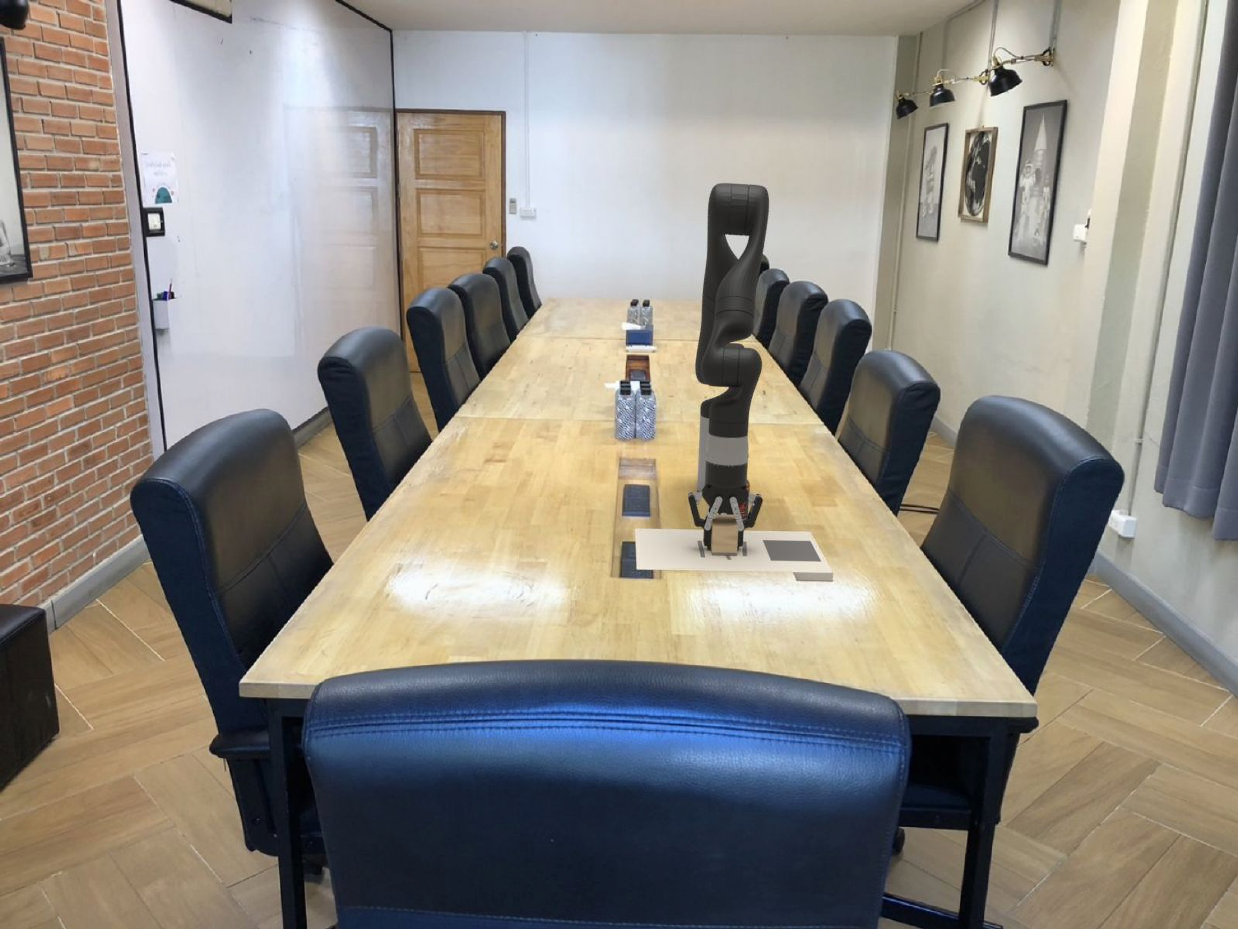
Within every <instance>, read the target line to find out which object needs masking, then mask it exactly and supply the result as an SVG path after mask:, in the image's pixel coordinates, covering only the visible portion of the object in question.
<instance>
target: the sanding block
mask: <svg viewBox="0 0 1238 929" xmlns="http://www.w3.org/2000/svg"><path fill="white" fill-rule="evenodd" d="M711 530H712V536H711V549H710V550H711V554H712V555H714V556H737V543H738V524H737V523H736V521H735V518H734V515H719V514H717V515H716V517H715V520H714V521H713V522H712V526H711Z"/></svg>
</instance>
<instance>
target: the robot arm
mask: <svg viewBox="0 0 1238 929" xmlns="http://www.w3.org/2000/svg"><path fill="white" fill-rule="evenodd" d="M769 196H770V195H769V191H768V189H767V188H766V187H765V186H763V185H759V184H746V183H732V182H722V183H716V184H715V185H714V186H712V189H711V191H710V194H709V198H708V204H707V234H706V236H707V237H706V238H707V239H706V240H707V241H706V242H707V243H706V244H707V245H706V260H705V261H706V262H705V269H704V274H703V276H704V277H703V284H702V294H701V297H702V298H701V299H702V300H701V320H700V330H699V336H698V343H697V349H696V356H695V362H694V364H695V365H694V370H695V371H694V372H695V376H696V380H697V381H698V383H701V384H702V385H708V386H709V387H717V388H727V389H726V391H724V392H723V393H720V394H719V395H717V396H714V397H711V398H708V399H705V400H703V401H702V402H701V404H700V408H699V410H700V411H699V416H700V417H699V434H698V435H699V438H698V460H697V462H698V463H697V483H696V484H697V485H696V486H697V487H696V489H697V490H696V491H698V492H695V493H694V492H688V494H687V498H688V499H687V501H688V503H689V509H690V512H691V515H692V520H693V523H694V526H695V527H697V528H699V527H700V528H702V530H704V534H703V542H704V546H707V549H711V536H712V530H711V526H712V522H713V521H714V520H715V517H716V515H719V514H721V513H728V514H733V515H734V518H735V521H736V523H737V524H738V543H737V550H739V547H742V545H743V535H744V531H746V529H749V528H750V529H752V528H754V527H755V524H756V522H757V519H758V516H759V513H760V511H761V507H762V505H763V502H764V499H763V497H762V495H761V494H760V493H756V494H755V493H751V492H750V493H749V492H748V490H747V480H748V469H749V468H748V466H749V465H748V464H749V458H750V454H749V449H750V448H749V447H750V446H749V424H750V423H749V422H750V411H751V404H752V400H753V397H754V393H755V391H756V388H757V386H758V382H759V379H760V377H761V374H762V370H763V360H762V357H761V354H760V353H759V351H758V350H756V349H755V348H753V347H745V346H744V345H743V344H742V343H737V342H738V341H743V340H744V341H745V340H746V339H748V338H749V337H751V336H752V335H753V332H754V327H755V314H756V311H755V310H756V298H757V296H756V295H757V287H758V286H757V285H758V280H759V274H760V269H761V264H762V259H763V256H764V255H763V253H764V249H765V241H766V238H767V237H766V235H767V230H768V223H769V213H770V197H769ZM727 235H728V236H739V237H740V236H741V237H742V236H743V237H744V236H745V237H748V238H747V239H748V240H747V243H746V245H745V249H743V252H742V254H741V255H740V256H739V258H738V257H737V255H736V254H735V253H734V251H733V250H732V248H731V247H730V245H729V243H728V240H727V237H726V236H727ZM702 498H703V500H704V501H705V502H706V504H707V505H708V508H707V510H706V515H705V517H704V518H701V516H700V513H699V509H698V506H699V505H700V504H701V500H702ZM747 499H749V505H750V507H749V508H750V509H749V510H748V516H747V519H745V520H742V518H741V514H740V510H739V508H740V507H741V506H742V505H743V504H744V502H745V501H746V500H747Z"/></svg>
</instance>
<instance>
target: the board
mask: <svg viewBox="0 0 1238 929" xmlns="http://www.w3.org/2000/svg"><path fill="white" fill-rule="evenodd" d="M634 531H635V532H634V533H635V534H634V536H635V537H634V538H635V557H636V563H635V564H636V570H638V571H639V570H641V571H646V570H647V571H649V570H650V571H687V572H688V571H690V572H691V571H693V572H694V571H696V572H700V571H702V572H703V571H704V572H749V573H752V572H753V573H754V572H756V573H760V572H761V573H792V574H793V576H794V579H795V581H805V582H806V581H807V582H808V581H812V582H813V581H817V582H821V581H822V582H832V581H833V579H834V572H833V570H832V568H831V566H830V564H829V563H828V561H827V559H826V558H825V555H824V554H823V551H822V550H821V548H820V547H819V545H818V543H817V541H816V539H815V537H814V536H813V534H812V532H811V531H796V530H795V531H789V530H787V531H786V530H785V531H783V530H744V535H743V545H742V547H739V550H737V556H714V555H712V554H711V550H710V549H707V546H704V542H703V534H704V529H684V528H682V529H680V528H679V529H678V528H634Z"/></svg>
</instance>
